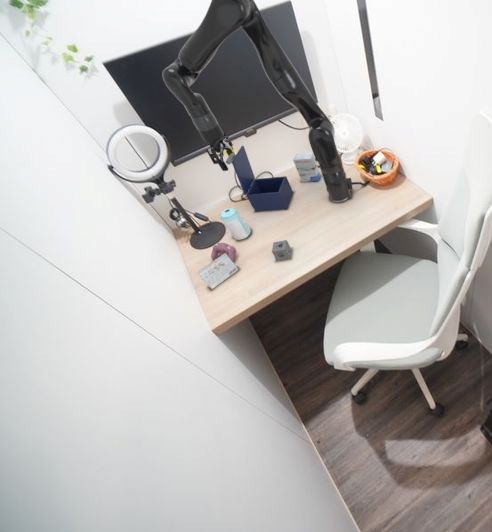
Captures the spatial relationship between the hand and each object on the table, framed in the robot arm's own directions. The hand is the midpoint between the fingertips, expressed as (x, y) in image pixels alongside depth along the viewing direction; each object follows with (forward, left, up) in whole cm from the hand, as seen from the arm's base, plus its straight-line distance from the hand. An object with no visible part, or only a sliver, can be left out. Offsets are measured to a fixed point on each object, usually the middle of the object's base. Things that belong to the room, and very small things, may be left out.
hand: (229, 164), depth 129 cm
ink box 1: (+3, +43, -20) cm, 48 cm away
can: (+1, +20, -20) cm, 29 cm away
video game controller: (+5, +32, -20) cm, 39 cm away
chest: (-10, +2, -20) cm, 23 cm away
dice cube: (-18, +36, -20) cm, 46 cm away
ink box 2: (-26, -12, -20) cm, 36 cm away
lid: (-5, +1, -3) cm, 6 cm away
